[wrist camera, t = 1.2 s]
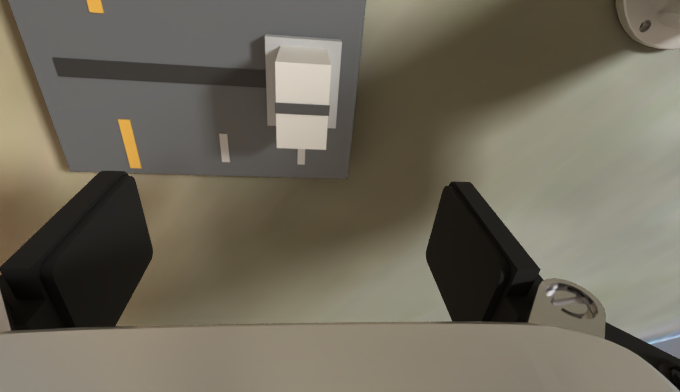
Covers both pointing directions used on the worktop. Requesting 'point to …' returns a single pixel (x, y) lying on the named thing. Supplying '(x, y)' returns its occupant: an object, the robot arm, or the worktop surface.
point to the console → (182, 82)
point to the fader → (302, 89)
